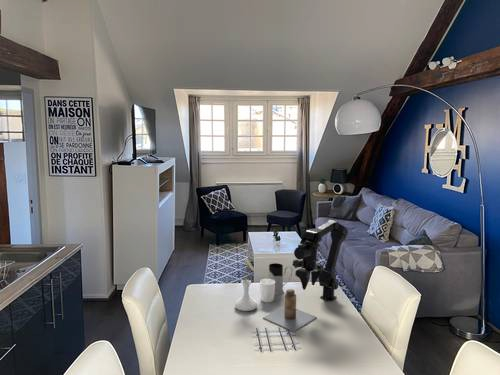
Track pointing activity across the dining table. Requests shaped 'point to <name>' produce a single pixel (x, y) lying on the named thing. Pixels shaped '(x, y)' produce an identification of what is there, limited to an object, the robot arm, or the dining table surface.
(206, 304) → the dining table surface
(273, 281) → the white cup
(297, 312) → the slate tile
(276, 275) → the grey pitcher
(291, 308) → the pepper mill
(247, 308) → the flower in vase
